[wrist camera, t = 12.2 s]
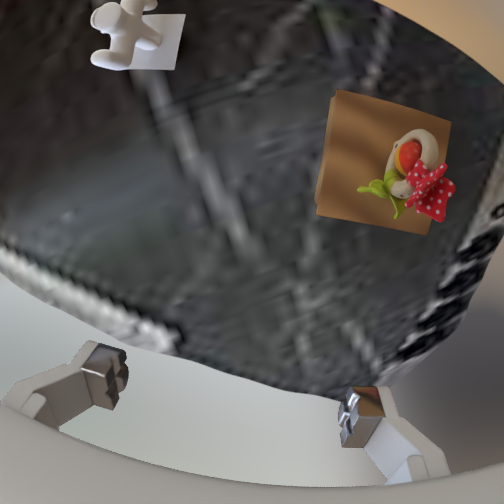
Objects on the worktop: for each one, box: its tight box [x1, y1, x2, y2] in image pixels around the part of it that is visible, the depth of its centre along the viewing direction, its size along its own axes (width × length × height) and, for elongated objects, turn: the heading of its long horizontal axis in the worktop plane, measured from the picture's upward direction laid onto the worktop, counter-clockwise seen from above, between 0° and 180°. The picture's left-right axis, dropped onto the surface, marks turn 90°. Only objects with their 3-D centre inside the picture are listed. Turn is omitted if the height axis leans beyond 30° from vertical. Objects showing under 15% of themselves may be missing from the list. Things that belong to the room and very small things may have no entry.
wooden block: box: [314, 89, 451, 235], centre depth 34 cm, size 14×14×6 cm
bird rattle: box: [357, 129, 455, 222], centre depth 27 cm, size 6×11×9 cm
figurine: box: [91, 0, 186, 70], centre depth 26 cm, size 7×9×15 cm
